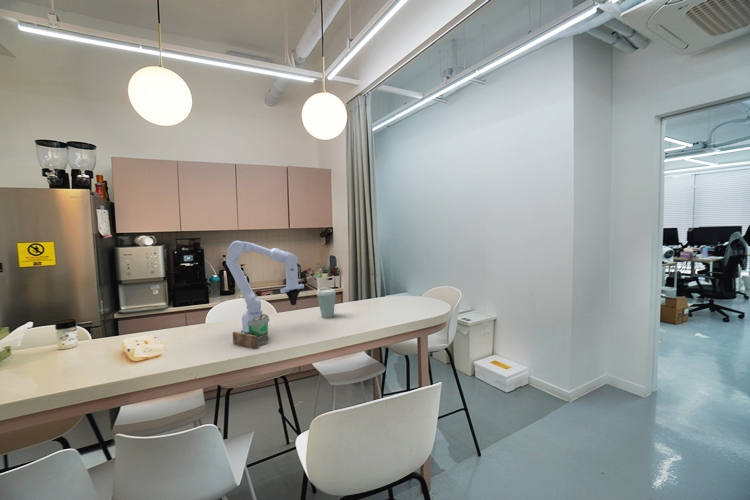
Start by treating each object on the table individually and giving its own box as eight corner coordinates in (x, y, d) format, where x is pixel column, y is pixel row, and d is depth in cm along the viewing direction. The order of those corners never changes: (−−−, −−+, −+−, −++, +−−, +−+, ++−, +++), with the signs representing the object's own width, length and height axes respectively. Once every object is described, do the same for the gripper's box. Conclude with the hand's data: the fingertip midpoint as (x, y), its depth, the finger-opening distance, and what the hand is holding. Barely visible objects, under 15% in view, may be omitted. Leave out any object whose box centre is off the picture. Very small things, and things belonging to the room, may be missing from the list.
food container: (262, 344, 139) (260, 321, 138) (248, 344, 140) (247, 321, 139) (275, 335, 151) (274, 313, 151) (262, 335, 152) (261, 313, 152)
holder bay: (233, 344, 141) (232, 332, 141) (247, 338, 147) (246, 327, 147) (256, 348, 134) (255, 336, 134) (269, 343, 140) (269, 331, 140)
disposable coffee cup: (341, 315, 183) (339, 288, 182) (328, 320, 174) (326, 291, 173) (326, 313, 188) (325, 287, 187) (313, 317, 179) (311, 290, 178)
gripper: (287, 280, 156) (288, 308, 157) (308, 276, 169) (309, 302, 170) (276, 279, 160) (278, 307, 161) (297, 275, 172) (298, 301, 173)
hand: (293, 304), depth 165 cm, fingers closed
